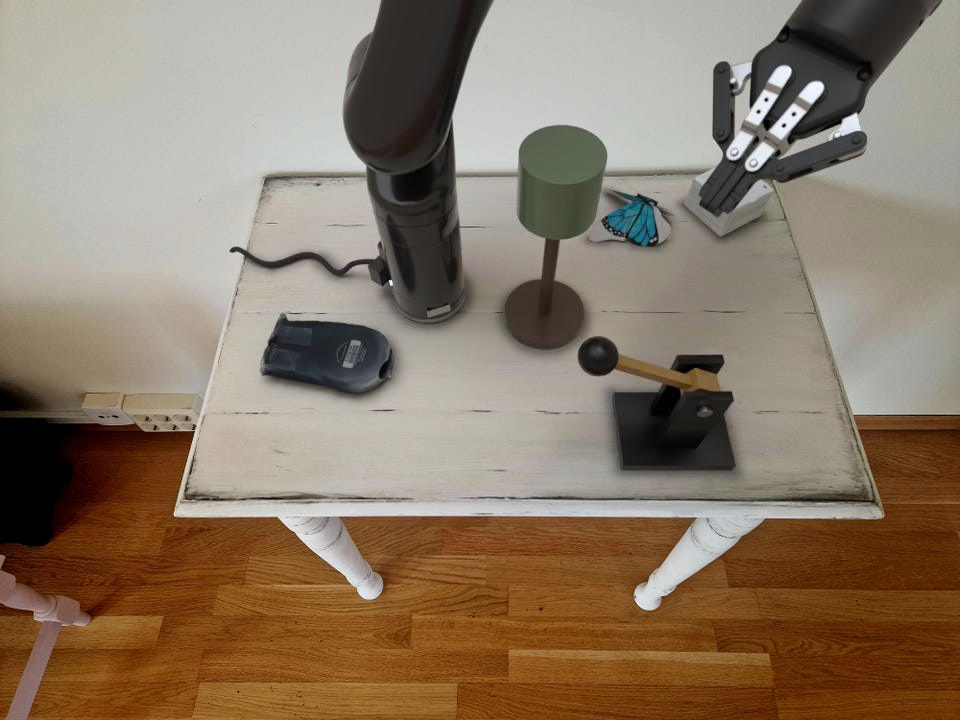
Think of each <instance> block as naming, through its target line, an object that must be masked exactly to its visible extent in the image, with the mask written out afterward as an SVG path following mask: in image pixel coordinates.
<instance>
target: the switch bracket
mask: <svg viewBox="0 0 960 720" xmlns="http://www.w3.org/2000/svg"><path fill="white" fill-rule="evenodd" d="M725 364H726V362H725V358H724V354H676V356H675V358H674V360H673V362H672V364H671V365H670V368H669V369H670V370H673V371H677V372H680V373H683V374H686V373H688V372H689V371H691V370H693V369H694V368H698V369H701V370H704V371H708V372H711V373H714V374H717V375H719V373H720V371H721V370H722V368H723V367H724V366H725ZM734 401H735V399H734V394H733V391H732V390H720V391H684V393H683V394H682V396H681V392H680V388H677V387H674V386H670V385H667V384H663V383H661V385H660V387H659V389H658V391H620V392H619V391H614V392H613V394H612V404H613V405H612V406H613V412H614V413H613V414H614V421H615V422H614V423H615V429H616V437H617V446H618V453H619V461H620V469H621V471H732V470H734V468H735V467H736V466H737V465H736V462H735V457H734V452H733V448H732V444H731V439H730V436H729V431H728V426H727V422H726V418H725V413H726V412H727V410H728V409H730V407H731V405H732V404H733V403H734Z"/></svg>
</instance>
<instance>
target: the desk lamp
mask: <svg viewBox="0 0 960 720" xmlns="http://www.w3.org/2000/svg"><path fill="white" fill-rule="evenodd" d="M517 156H518V159H517V183H516V188H517V189H516V210H515V211H516V216H517V219H518V221H519V223H520V224H521V226H522V227H524V229H526V230H527V231H528V232H529V233H531V234H533V235H535V236H537V237H539V238H541V239H542V238H543V239H544V246H543V248H544V249H543V256H542V267H541V275H540V278H538V279H537V278H536V279H531V280H527V281H525V282H523V283H521V284H519V285H518V286H517V287H515V288H514V289H513V290H512V291H511V292H510V294H509V295H508V296H507V298H506V301H505V304H504V323H505V326H506V328H507V330H508V332H509V334H510V335H511V336H512V337H513V338H514V339H515V340H516V341H518V342H519V343H520V344H522V345H524V346H526V347H529V348H532V349H537V350H545V351H546V350H554V349H558V348H561V347H563V346H566V345H568V344H569V343H571V342H572V341H573V340H575V338H576V337H578V334H579V333H580V331H581V329H582V326H583V322H584V317H585V308H584V307H585V306H584V303H583V301H582V299H581V297H580V296H579V294H578V293H577V291H575V289H573V288H572V287H570V286H569V285H567V284H565V283H564V282H561V281H558V280H556V274H557V267H558V259H559V251H560V246H561V245H560V243H561V240H569V239H573V238H576V237H579V236H581V235H583V234H584V233H586V232H587V231H588V230H589V229H591V228H592V226H593V224H594V223H595V220H596V217H597V212H598V208H599V204H600V198H601V193H602V189H603V182H604V177H605V174H606V167H607V164H608V157H609V156H608V150H607V147H606V145H605V143H604V142H603V141H602V140H601V139H600V137H598V136H597V135H596V134H595V133H593V132H591V131H589V130H587V129H585V128H582V127H579V126H575V125H569V124H554V125H547V126H544V127H540V128H537V129H536V130H534V131H532V132H531V133H529V134H528V135H527V136H526V137H525V138H524V139H523V140H522V142H521V143H520V145H519V148H518V155H517Z"/></svg>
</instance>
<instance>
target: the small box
mask: <svg viewBox="0 0 960 720" xmlns="http://www.w3.org/2000/svg"><path fill="white" fill-rule="evenodd" d="M716 167H717V166H716ZM716 167H714V168H713V167H712V168H711V169H709V170H707V171H705V172H703V173H701V174H699V175H697V176H694V177H693V178H692V181H691V184H690V187H689V189H688V192H687V195H686V197H685V200H684V203H683V205H684V206H685V207H686V208H687V209H688V210H689V211H690V212H691V213H693V214H694V215H695V217H697V218H698V219H699V220H700V221H701V222H703V223H704V225H706V226H707V227H708V228H709V229H711V231H712V232H714V233H715V234H716V235H717V236H718V237H720V238H721V237H723V236H725V235H727V234H730V233H731V232H733V231H735V230H736V229H739V228H740V227H743V226H744V225H747V224H749V223H750V222H752V221H755V220H756V219H758V218H759V217H761V216H762V215H763V213H764V210H765V209H766V207H767V205H768V203H769V201H770V200H771V197H772V196H773V194H774V192H775V189H773V187H772V186H770V185H769V184H768V183H766V182H765V181H764V179H761V180H759V181H757V182H756V183H755V184H754V185H753V186H752V188H751V189H750V190H749V192H748V193H747V194H746V195H745V197H744V198H743V199H742V200H741V202H740V203H739V204H738V206H737V207H736V208H735V209H734V210H733V211H732V212H730V213H729V214H726V213H725V212H723V213H722V214H721V215H720V216H719V217H716V216H714V215H713V214H711V213H710V212H708V211H706V210H705V209H703V208H702V207H701V206H699V203H700V201H701V199H702V198H701V197H700V196H699V192H700V189H701V187H702V186H703V185H704V183H705V182H706V181H707V179H708V178H709V177H710V175H711V174H712V172H713V171H714V170H715V168H716ZM741 168H742V167H741Z"/></svg>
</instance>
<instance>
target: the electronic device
mask: <svg viewBox="0 0 960 720" xmlns="http://www.w3.org/2000/svg"><path fill="white" fill-rule="evenodd" d="M393 361H394V355H393V348H392V346H391V344H390V341H389V340H388V339H387V337H386V336H385V335H384V334H383V333H381V332H380V331H379V330H377V329H373V328H371V327H369V326H365V325H362V324H355V323H347V322H341V321H324V320H322V321H321V320H289V319H288V317H287V314H285V313H283V312H281V313H279V316H278V319H277V321H276V323H275V325H274V329H273V331H272V332H271V334H270V335H269V338H268V339H267V346H266V347H265V349H264V351H263V353H262V357H261V359H260V363H259V372H260V374H261V377H264V376H265V377H266V376H267V377H268V376H269V377H274V378H279V379H282V380H283V379H284V380H289V381H295V382H299V383H305V384H311V385H317V386H322V387H326V388H330V389H333V390H335V391H338V393H345V394H349V395H356V394H357V395H358V394H362V393H365V392H368V391H371V390H373V389H374V388H376V387H377V386H378V385H380V384H381V383H382V382H383V381H384V380H385V379H386V378H389V379H391V378H392V374H391V373H392V372H391V371H392V368H393Z"/></svg>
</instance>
